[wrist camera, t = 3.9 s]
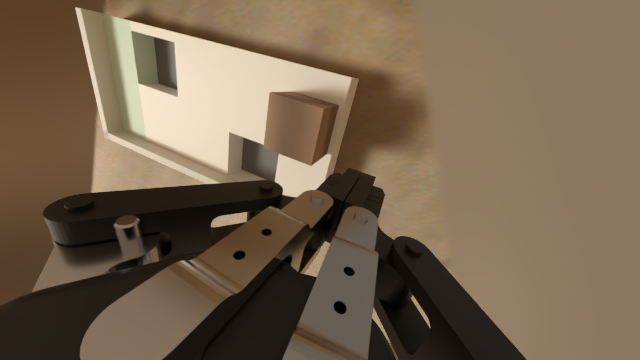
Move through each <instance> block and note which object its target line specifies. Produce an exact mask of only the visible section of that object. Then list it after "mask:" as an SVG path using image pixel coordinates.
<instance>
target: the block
mask: <svg viewBox="0 0 640 360" xmlns="http://www.w3.org/2000/svg"><path fill="white" fill-rule="evenodd" d="M338 108H339V105H337V104H333V103H330V102H327V101H323V100H320V99H316V98H313V97H310V96H306V95H303V94H299V93H296V92H293V91H291V92H270V93H269V102H268V111H267V120H266V129H265V138H264V148H265V149H268V150H270V151H273V152H276V153H278V154H281V155H284V156H286V157H289V158H291V159H294V160H297V161H299V162H302V163H305V164H307V165H310V166H312V165H313V164H315V163H316V162H317V161H319V160H320V159H321V158H323V157H324V156H325V155H327V152H328V148H329V144H330V140H331V136H332V132H333V128H334V124H335V120H336V116H337V112H338Z"/></svg>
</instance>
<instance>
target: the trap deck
mask: <svg viewBox="0 0 640 360" xmlns="http://www.w3.org/2000/svg"><path fill="white" fill-rule="evenodd" d="M76 13H77V17H78V22H79V26H80V30H81V35H82V39H83V43H84V48H85V52H86V56H87V61H88V66H89V70H90V74H91V79H92V83H93V87H94V92H95V97H96V101H97V105H98V110H99V114H100V119H101V123H102V127H103V132H104V136H105V138H108V139H110V140H112V141H114V142H116V143H119V144H121V145H123V146H125V147H127V148H129V149H132V150H134V151H136V152H138V153H140V154H143V155H145V156H147V157H149V158H151V159H154V160H156V161H158V162H160V163H162V164H165V165H167V166H169V167H171V168H173V169H175V170H178V171H180V172H182V173H184V174H186V175H189V176H191V177H193V178H195V179H197V180H200V181H202V182H204V183H206V184H217V183H230V182H243V181H256V180H269V181H273V182H276V183H278V184H280V185H281V186H282V188H283V194H282V195H285V196H290V197H298V196H299V195H301V194H302V193H303V192H305V191H308V190H316V189H317V188H318V187H319V186H320V185H321V184H322V183H323V182H324V181H325V180H326V179H327V178H328V177H329V175H331V174H333V172H334V169H335V165H336V161H337V158H338V154H339V150H340V147H341V143H342V139H343V136H344V132H345V129H346V125H347V121H348V118H349V114H350V110H351V107H352V103H353V100H354V96H355V92H356V89H357V85H358V81H359V79H358V78H354V77H350V76H346V75H342V74H338V73H334V72H330V71H327V70H323V69H319V68H315V67H311V66H307V65H303V64H299V63H295V62H291V61H288V60H284V59H280V58H276V57H272V56H268V55H264V54H260V53H256V52H252V51H248V50H245V49H241V48H237V47H233V46H229V45H225V44H221V43H217V42H213V41H209V40H206V39H202V38H198V37H194V36H190V35H186V34H182V33H178V32H174V31H170V30H167V29H163V28H159V27H155V26H151V25H147V24H143V23H139V22H135V21H131V20H128V19H124V18H119V17H115V16H111V15H107V14H102V13H98V12H94V11H89V10H85V9H81V8H76ZM291 91H293V92H296V93H299V94H303V95H306V96H310V97H313V98H316V99H320V100H323V101H327V102H330V103H333V104H337V105H339V108H338V112H337V116H336V120H335V124H334V128H333V132H332V136H331V140H330V144H329V148H328V152H327V155H325V156H324V157H323V158H321V159H320V160H319V161H317V162H316V163H315V164H313V165H312V166H310V165H307V164H305V163H302V162H299V161H297V160H294V159H291V158H289V157H286V156H284V155H281V154H278V153H276V152H273V151H270V150H268V149H265V148H264V138H265V129H266V120H267V111H268V102H269V93H270V92H291Z"/></svg>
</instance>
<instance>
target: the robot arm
mask: <svg viewBox="0 0 640 360" xmlns="http://www.w3.org/2000/svg"><path fill="white" fill-rule="evenodd" d="M361 174H362V175H361ZM375 178H376V177H374V176H371V175H368V174H365V173H362V172H359V171H357V170H354V169H351V168H348V170H347V171H346V172H345V173H344V175H342V174H339V173H334V174H331V175H329V177H328V178H327V179H326V180H325V181H324V182H323V183H322V184H321V185H320V186H319V187H318V188H317V189H316V190H308V191H305V192H303V193H302V194H301V195H299V196H298V197H290V196H285V195H282V194H283V188H282V186H281V185H280V184H278V183H276V182H273V181H269V180H256V181H243V182H230V183H217V184H203V185H190V186H177V187H164V188H151V189H138V190H124V191H111V192H98V193H85V194H78V195H73V196H69V197H65V198H63V199H60V200H57V201H55V202H53V203H52V204H50V205H49V206H47V207H46V208H45V210H44V211H43V216H44V218H45V220H46V223H47V225H48V227H49V229H50V232H51V234H52V241H53V243H54V245H55V247H54V249H53V251H52V253H51V255H50V257H49V259H48V261H47V263H46V265H45V267H44V269H43V271H42V273H41V275H40V277H39V279H38V281H37V283H36V285H35V287H34V289H33V291H32V292H31V293H29V294H26V295H23V296H20V297H18V298H15V299H13V300H11V301H8V302H6V303H4V304H2V305H0V360H396V359H395V356H394V354H393V352H392V350H391V347H390V345H389V343H388V341H387V339H386V338H385V336H384V334H383V332H382V331H381V329H380V328H379V327H378V325H377V324H376V323H375V321H374V320H373V319H372V313H373V307H374V309H375V311H376V313H377V315H378V317H379V319H380V321H381V323H382V325H383V327H384V329H385V331H386V333H387V335H388V338H389V340H390V342H391V344H392V346H393V348H394V350H395V352H396V354H397V356H398V358H399V360H526V359H525V357H524V356H523V355H522V354H521V353H520V352H519V351H518V349H517V348H516V347H515V346H514V345H513V344H512V343H511V342H510V341H509V339H508V338H507V337H506V336H505V335H504V334H503V332H502V331H501V330H500V329H499V328H498V327H497V326H496V325H495V324H494V322H493V321H492V320H491V319H490V318H489V317H488V316H487V314H486V313H485V312H484V311H483V310H482V309H481V308H480V307H479V306H478V304H477V303H476V302H475V301H474V300H473V299H472V297H471V296H470V295H469V294H468V293H467V292H466V291H465V290H464V288H463V287H462V286H461V285H460V284H459V283H458V282H457V281H456V279H455V278H454V277H453V276H452V275H451V274H450V273H449V272H448V270H447V269H446V268H445V267H444V266H443V265H442V264H441V262H440V261H439V260H438V259H437V258H436V257H435V256H434V255H433V253H432V252H431V251H430V250H429V249H428V248H427V247H426V246H425V245H424V244H422V243H421V242H419V241H417V240H415V239H413V238H410V237H406V236H400V237H397V238H396V239H395V240H393V239H392V238H390V237H389V236H387V235H386V234H385V233H383V231H382V230H381V229H380V228H379V226H378V217H379V214H380V210H381V207H382V203H383V200H384V196H385V194H384V192H383V190H382V189H381V188H378V187H375V186H373V184H374V181H375ZM242 212H247V222H245V223H239V224H233V225H227V226H221V227H215V228H213V227H211V222H212V220H213V219H214V218H216V217H218V216H221V215H228V214H235V213H242ZM325 241H327V242H329V243H331V244H330V246H329V249H328V251H327V254H326V256H325V259H324V261H323V264H322V266H321V268H320V271H319V273H318V276H317V277H313V276H309V275H305V274H304V273H305V272H306V270H307V269H308V267H309V266H310V265H311V263H312V262H313V260H314V259H315V258H316V256H317V255H318V253H319V251H320V248H321V246H322V245H323V243H324V242H325ZM412 295H413V296H414V297H415V299H416V300H417V302H418V303H419V305H420V306H421V308H422V309H423V311H424V312H425V314H426V315H427V317H428V319H429V322H430V327H431V329H430V328H429V326H428V325H427V323H426V321H425V320H424V318H423V317H422V315H421V314H420V312H419V311H418V309H417V307H416V306H415V304H414V303H413V301H412V300H411V297H412Z"/></svg>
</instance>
